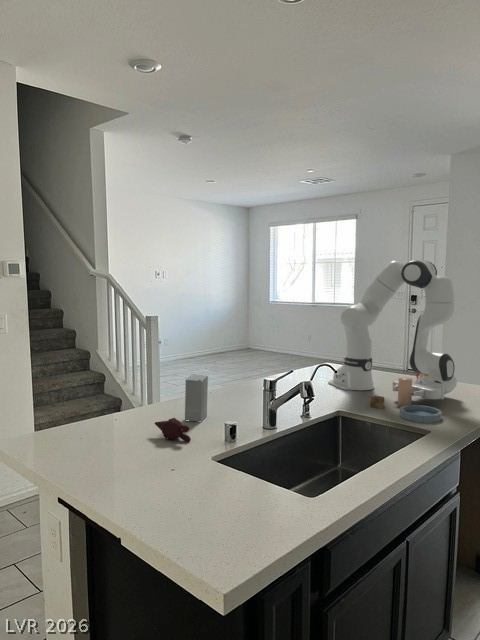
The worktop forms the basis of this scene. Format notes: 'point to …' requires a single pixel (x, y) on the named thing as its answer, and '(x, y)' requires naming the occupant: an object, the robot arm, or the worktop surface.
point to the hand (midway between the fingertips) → (403, 391)
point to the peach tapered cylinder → (404, 391)
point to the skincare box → (196, 397)
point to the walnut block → (377, 402)
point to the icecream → (173, 429)
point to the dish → (420, 413)
